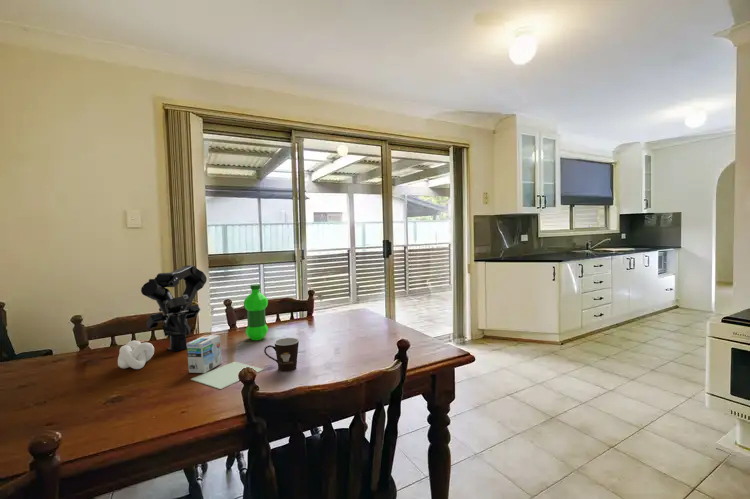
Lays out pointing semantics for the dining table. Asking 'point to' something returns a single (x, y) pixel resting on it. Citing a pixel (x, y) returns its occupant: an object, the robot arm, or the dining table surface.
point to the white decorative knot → (135, 354)
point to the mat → (223, 375)
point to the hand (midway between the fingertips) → (184, 333)
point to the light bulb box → (204, 353)
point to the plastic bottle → (256, 313)
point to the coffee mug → (285, 353)
